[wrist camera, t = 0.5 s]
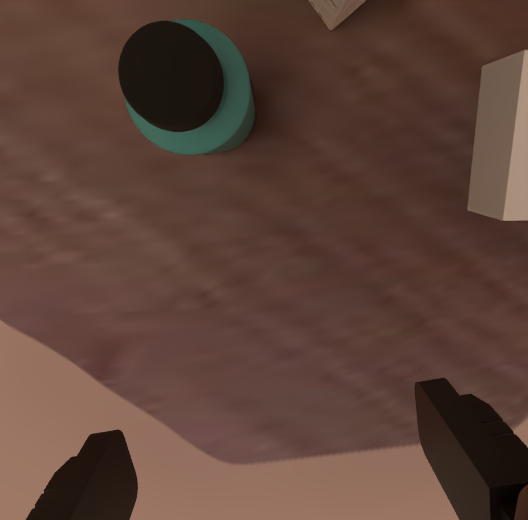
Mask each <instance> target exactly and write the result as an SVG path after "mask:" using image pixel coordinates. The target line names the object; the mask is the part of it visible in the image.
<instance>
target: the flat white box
mask: <svg viewBox="0 0 528 520" xmlns="http://www.w3.org/2000/svg"><path fill="white" fill-rule="evenodd" d="M467 210H468V211H471V212H474V213H478V214H481V215H485V216H488V217H492V218H495V219H499V220H502V221H515V220H528V50H523V51H520V52H518V53H515V54H513V55H510V56H507V57H505V58H502V59H499V60H497V61H494V62H491V63H489V64H486V65H483V66H482V72H481V82H480V92H479V101H478V111H477V120H476V130H475V139H474V149H473V159H472V168H471V178H470V187H469V197H468V207H467Z"/></svg>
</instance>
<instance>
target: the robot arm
mask: <svg viewBox="0 0 528 520" xmlns="http://www.w3.org/2000/svg"><path fill="white" fill-rule="evenodd" d="M415 400H416V411H417V422H418V432H419V437H420V441H421V445H422V448H423V451H424V453H425V456H426V458H427V460H428V462H429V463H430V465H431V467H432V469H433V471H434V473H435V475H436V476H437V478H438V480H439V482H440V484H441V486H442V488H443V490H444V492H445V493H446V495H447V497H448V499H449V500H450V503H451V504H452V506H453V508H454V510H455V512H456V514H457V516H458V518H459V520H528V448H527V446H526V445H525V444H524V443H523V442H522V441H521V440H520V438H519V437H517V435H514V433H513V431H512V429H511V428H510V427H509V426H508V425H507V424H506V423H505V422H503V419H502V418H501V417H500V416H499V415H498V414H497V412H496V411H495V410H494V409H493V408H492V407H491V406H490V405H489V404H487V403H486V402H484V401H482V400H480V399H479V398H477V397H475V396H474V395H472V394H467V395H461V396H459V394H458V393H457V392H456V390H455V389H454V388H453V387H452V385H451V384H450V383H449V382H448V381H447V379H445V378H439V379H433V380H427V381H421V382H416V383H415ZM137 491H138V483H137V476H136V472H135V469H134V466H133V463H132V460H131V456H130V453H129V450H128V447H127V444H126V441H125V437H124V435H123V433H122V432H121V431H120V430H113V431H107V432H101V433H95V434H91V435H90V436H89V437H88V438H87V440H86V442H85V443H84V445H83V447H82V448H81V450H80V452H79V453H78V455H77V456H75V457H71V458H70V459H69V460H68V461H67V462H66V463H65V464H64V465H63V466H62V467H61V468H60V469H58V470H57V471H56V472H55V473H54V475H53V477H52V478H51V480H50V481H49V483H48V485H47V486H46V488H45V489H44V494H41V496H40V498H39V499H38V501H37V503H36V504H35V508H34V509H32V510H31V512H30V514H29V515H28V517H27V519H26V520H129V519H130V517H131V514H132V510H133V508H134V505H135V502H136V498H137Z"/></svg>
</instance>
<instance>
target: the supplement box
mask: <svg viewBox="0 0 528 520" xmlns="http://www.w3.org/2000/svg"><path fill="white" fill-rule="evenodd" d="M308 1H309V2H310V4H311V5H312V6H313V8H314V9H315V11H316V12H317V13H318V15H319V16H320V17H321V19H322V20H323V22H324V23H325V24H326V26H327V27H328V29H329V30H333V29H334V28H335V27H336V26H338V25H339V24H340V23H341V22H342V21H343V20H345V19H346V18H347V17H348V16H349V15H350V14H351V13H353V12H354V11H355V10H356V9H357V8H358V7H359V6H360V5H362V4H363V3H364V2H365V1H366V0H308Z"/></svg>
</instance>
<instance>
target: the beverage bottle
mask: <svg viewBox="0 0 528 520" xmlns="http://www.w3.org/2000/svg"><path fill="white" fill-rule="evenodd" d="M118 72H119V81H120V85H121V89H122V92H123V94H124V97H125V102H126V106H127V108H128V111H129V114H130V116H131V118H132V120H133V122H134V123H135V125H136V126H137V128H138V129H139V130H140V131H141V132H142V134H143V135H144V136H145V137H146V138H148V139H149V140H150V141H151V142H153V143H154V144H155V145H157V146H159V147H160V148H162V149H164V150H167V151H169V152H172V153H176V154H182V155H198V154H204V153H205V154H206V153H216V152H225V151H229V150H231V149H233V148H235V147H237V146H238V145H240V144H241V143H242V142H243V141H244V140H246V138H247V136H248V135H249V133H251V129H253V124H254V119H255V114H256V112H255V105H254V100H253V95H252V90H251V86H250V82H251V81H250V78H249V73H248V70H247V66H246V64H245V61H244V59H243V57H242V55H241V53H240V52H239V50H238V49H237V47H236V46H235V45H234V43H233V42H232V41H231V40H230V39H229V38H228V37H227V36H226V35H224V34H223V33H222V32H221V31H219V30H218V29H216V28H214V27H212V26H210V25H208V24H206V23H203V22H200V21H195V20H186V19H181V20H173V21H158V22H153V23H149V24H147V25H145V26H143V27H141V28H140V29H138V30H137V31H136V32H135V33H134V34H133V35H132V36H131V37H130V38H129V39H128V41H127V42H126V44H125V46H124V48H123V50H122V53H121V55H120V60H119V67H118ZM251 85H252V84H251ZM252 87H253V86H252ZM252 89H253V90H254V88H252ZM254 93H255V92H254ZM254 97H255V96H254ZM255 100H256V98H255ZM256 119H257V117H256ZM254 126H255V124H254ZM253 130H254V129H253ZM253 130H252V131H253ZM250 135H251V134H250ZM250 135H249V136H250ZM246 141H247V140H246ZM223 154H225V153H223ZM212 155H213V154H212ZM216 155H217V154H216Z"/></svg>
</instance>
